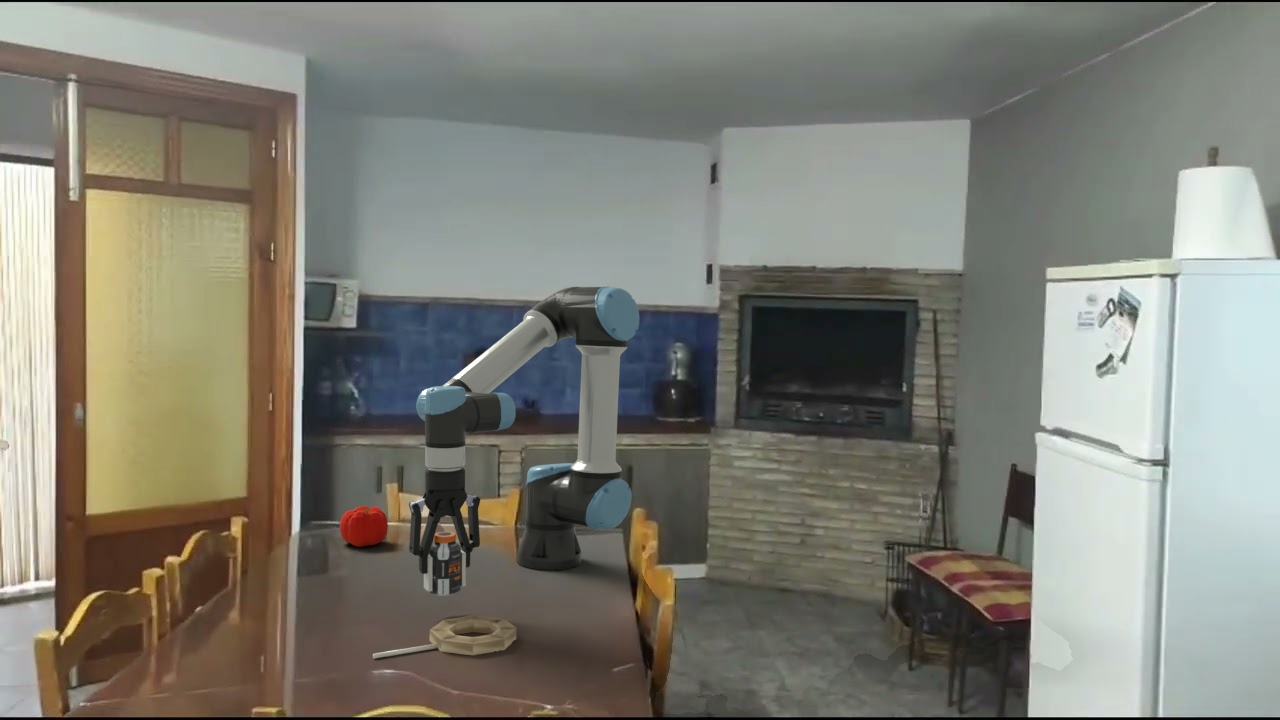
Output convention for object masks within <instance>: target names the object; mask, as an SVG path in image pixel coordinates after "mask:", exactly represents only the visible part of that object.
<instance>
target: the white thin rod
mask: <svg viewBox="0 0 1280 720" xmlns="http://www.w3.org/2000/svg"><path fill="white" fill-rule="evenodd" d="M435 649H438V644H432V643H431V644H425V645H419V646H413V647H406V648H400V649H392V650H389V651H388V650H387V651H383V652H382V651H381V652H376V653H372V658H373V659H374V660H375V659H379V658H380V659H381V658H387V657H392V656H399V655H403V654H410V653H416V652H422V651H430V650H435Z"/></svg>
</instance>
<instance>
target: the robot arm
mask: <svg viewBox="0 0 1280 720" xmlns="http://www.w3.org/2000/svg"><path fill="white" fill-rule="evenodd" d="M639 312H640V311H639V307H638V305H637V302H636V299H634V298H633V296H632V295H631V293H630V292H628V291H627V290H626V289H623V288H619V287H615V286H614V287H613V286H586V287H585V286H571V287H567V288H566V287H565V288H563V289H560V290H558V291H556V292H554V293H552V294H551V295H549V296H547V297H546V298H544V299H543V300H541V301H540V302H539V303H537V304H536V305H534V306H533V307H532V308H530V310H528V311H527V312H526V313H525V314H524V315H523V318H522V319H523V320H522V321H521V322H520V323H519V324H518V325H516V327H514V328H513V329H511V330H510V331H509V332H507V334H505V335H504V336H503V337H501V338H500V339H499V340H498V341H496V342H495V343H494V344H493V345H492V346H490V347H489V348H488V349H487V350H485V351H484V352H483V353H482V354H480V355H479V356H478V357H477V358H476V359H475V358H474V360H473V361H472V362H471V363H469V364H467V366H466V367H464V368H463V369H461V371H459V372H458V373H457V374H456V375H454V376H453V377H452V378H451V379H449V380H448V381H446V383H444V384H443V385H440V386H439V385H437V386H432V387H429V388H428V387H427V388H425V389H423V390H422V391H421V392H420V394H419V395H418V397H417V399H416V403H415V404H416V405H415V407H416V412H417V414H418V416H419V418H420V419H421V420H422V421H424V431H425V432H424V437H425V438H424V440H425V441H424V443H425V444H424V445H425V446H424V447H425V449H424V450H425V451H424V455H425V457H424V461H425V463H424V466H425V467H427V468H426V470H424V495H423V496H422V499H421V498H420V499H419V500H416V501H413V500H411V501H409V502H408V506H409V510H410V527H409V529H410V531H409V543H408V547H409V548H408V550H409V551H408V552H410V553H411V554H412V555H413V556H416V557H417V556H418V571H419V573H420V574H421V575H423V589H424V590H425V591H427V592H429V593H430V591H432V560H433V557H431V556H430V555H429V552H430V548H431V545H432V542H433V538H434V535H435V532H436V528H437V525H438V523H439V524H440V521H441V518H445V517H450V518H451V520H452V522H453V523H452V524H453V526H454V530H455V534H456V536H457V539H458V542H459V543H458V544H459V546H460V548H461V581H460V587H466V586H467V585H466V584H467V583H466V582H467V580H466V579H467V577H466V576H467V568H470V567H471V553H472V552H473V550H474V549H475V548H479V547H480V546H481V542H480V541H481V540H480V539H481V538H480V522H479V507H480V503H481V497H479V496H477V495H475V494H471V495H470V494H467V491H466V469H465V468H464V466H465V465H466V439H467V435H470V434H479V433H487V432H498V431H500V430H501V431H502V430H505V429H509V428H510V427H511V426H512V425H513V424H514V422H515V419H516V404H515V402H514V399H513V398H512V397H511V396H510V395H509V394H508V393H506V392H492V391H494V390H495V389H496V388H497V387H499V386H500V385H501V384H502V383H503V382H505V380H507V379H509V378H510V376H511V375H513V374H514V373H515V372H517V371H518V370H519V369H521V367H523V365H525V364H526V363H527V362H528V361H529V360H530V359H532V358H533V357H534V356H535V355H537V354H538V353H539V352H540V351H542V349H543V348H550V347H553V346H554V345H555V344H557V343H558V342H560V341H562V340H564V339H569V338H570V339H571V338H575V348H576V349H578V351H579V352H580V353H581V366H580V367H581V370H580V391H579V392H580V394H579V396H580V397H579V417H578V438H577V440H578V441H577V459H576V461H575V462H574V463H572V462H571V463H568V462H567V463H551V464H540V465H534V466H531V467H530V468H529V469H528V470H527V474H526V475H527V476H526V483H525V528H524V532H523V535H522V538H521V540H520V543H519V546H518V549H517V552H516V555H517V556H516V562H517V564H519V566H523V567H526V568H530V569H534V570H535V569H536V570H551V571H552V570H553V571H554V570H555V571H556V570H566V569H570V568H571V569H572V568H574V567H577V566H579V565H580V564H582V555H583V554H582V550H581V546H580V543H579V539H578V535H577V533H576V525H578V526H583V527H586V528H587V527H588V528H589V529H592V530H603V531H607V530H608V531H609V530H612V529H614V528H616V527H618V526H619V525H620V524H621V523H622V522H623V520H624V519H625V518H626V517H627V514H628V512H629V510H630V508H631V503H632V491H631V490H632V489H631V488H630V486H629V485H630V484H628V482H626V481H625V479H624V480H623V478H622V474H623V473H622V472H623V471H622V467H621V466H620V465H619V464H618V463H617V461H616V458H617V457H616V456H617V455H616V453H617V435H618V434H617V430H618V411H619V409H618V408H619V407H618V406H619V392H620V391H619V390H620V389H619V387H620V386H619V385H620V368H621V355H622V354H623V353H624V352H625V351H626V350H627V349H628V340H630V339H633V337H634V336H635V335H636V332H637V331H638V329H639V326H640V313H639ZM465 502H466V503H465ZM464 504H466V505H467V524H468V534H467V530H466V527H465V522H464V520H463V519H464V517H463V514H462V510H461V508H462V507H463V505H464ZM425 506H426V508H427V509H428V510H429V511H428V514H427V521H426V524H425V525H426V527H425V531H424V534H423V537H422V541H421V544H420V535H421V530H422V512H423V511H424V507H425Z"/></svg>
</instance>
